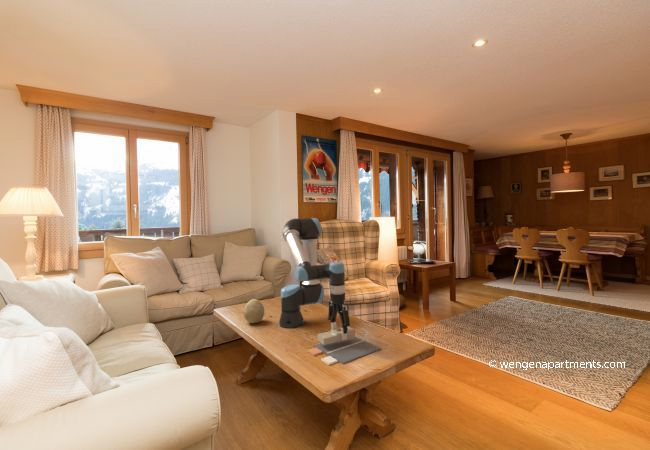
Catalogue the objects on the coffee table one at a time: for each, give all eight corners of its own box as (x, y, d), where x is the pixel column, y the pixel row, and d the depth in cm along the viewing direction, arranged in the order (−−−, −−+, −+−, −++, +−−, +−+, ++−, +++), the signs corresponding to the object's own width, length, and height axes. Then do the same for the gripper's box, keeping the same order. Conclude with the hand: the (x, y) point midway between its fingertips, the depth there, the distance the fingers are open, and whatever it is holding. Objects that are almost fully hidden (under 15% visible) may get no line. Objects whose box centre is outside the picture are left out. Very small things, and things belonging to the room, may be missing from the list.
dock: (304, 349, 158) (304, 347, 158) (349, 335, 175) (349, 333, 175) (332, 367, 139) (332, 365, 139) (381, 349, 156) (381, 347, 156)
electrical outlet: (317, 332, 162) (348, 325, 170) (317, 340, 162) (348, 333, 170) (323, 336, 155) (355, 329, 163) (323, 344, 156) (355, 337, 163)
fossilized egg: (260, 318, 209) (259, 295, 209) (268, 323, 199) (267, 299, 198) (241, 322, 202) (240, 299, 202) (248, 327, 192) (247, 303, 191)
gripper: (320, 290, 169) (321, 333, 170) (344, 298, 152) (346, 345, 153) (331, 288, 173) (333, 329, 174) (356, 295, 156) (358, 341, 157)
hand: (339, 336), depth 163 cm, fingers closed on electrical outlet, 8 cm apart
